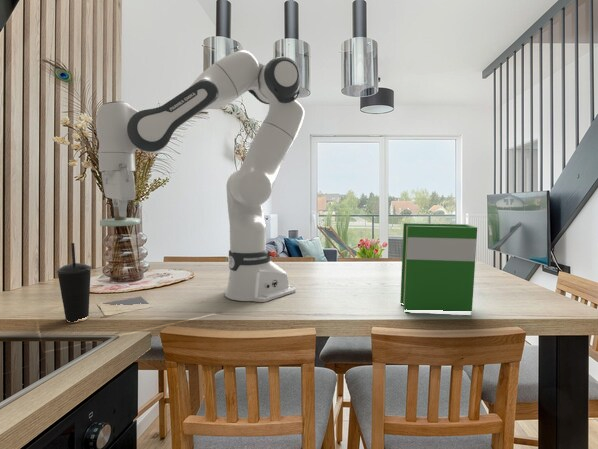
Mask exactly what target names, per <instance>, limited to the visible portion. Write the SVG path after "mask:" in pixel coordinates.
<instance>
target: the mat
mask: <svg viewBox="0 0 598 449" xmlns="http://www.w3.org/2000/svg"><path fill="white" fill-rule="evenodd" d="M102 303H103V304H110V305H116V304H117V305H120V304H123V305H133V304H140V303H141V304H150V303H149V302H148V301H147V300H145V299H144V298H143V297H142V296H137V297H131V298H130V297H129V298H125V299H119V300H115V301H114V300H113V301H108V302H102Z"/></svg>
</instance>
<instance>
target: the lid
mask: <svg viewBox="0 0 598 449" xmlns="http://www.w3.org/2000/svg"><path fill="white" fill-rule="evenodd" d="M118 210H119V207H114V206H113V218H105V219H100V220H99V225H100V226H101V227H128V226H129V227H130V226H136V225H140V224H141V218H139V217H127V215H126V216H125V217H120V216H119V215H118Z"/></svg>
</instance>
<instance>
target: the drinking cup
mask: <svg viewBox="0 0 598 449" xmlns="http://www.w3.org/2000/svg"><path fill="white" fill-rule="evenodd" d="M70 244H71V245H70V246H71V247H70V248H71V260H72V261H71V262H72V263H68V264H65V265H63V266H61V267H59V268H57V269H56V271H55V272H56V274H57V278H58V283H59V289H60V293H61V301H62V307H63V311H64V317H65V320H66V319H67V320H68V321H70V322H74V321H77V320H78V319H82V318H85V317H87V316H89V314H90V292H91V291H90V290H91V274H92V272H91V271H92V269H93V267H92V266H91V265H89V264H88V265H87V264H85V263H80V262H76V248H75V242H71V243H70Z"/></svg>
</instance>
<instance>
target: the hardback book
mask: <svg viewBox="0 0 598 449" xmlns="http://www.w3.org/2000/svg"><path fill="white" fill-rule="evenodd" d="M402 229H403V230H402V232H403V234H402V252H401V278H400V281H401V282H400V303H403V304H404V305H403V310H404V309H405V310H406V309H407V310H443V311H472V312H473V303H474V302H473V301H474V289H475V287H474V284H475V272H476V271H475V270H476V256H477V255H476V254H477V241H478V240H477V239H478V238H477V237H478V226H477V227H476V226H474V225H472V224H471V225H470V224H468V223H467V224H465V223H464V224H463V223H460V224H459V223H421V222H420V223H419V222H418V223H417V222H412V223H411V222H403V228H402ZM400 303H399V304H400Z"/></svg>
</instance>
